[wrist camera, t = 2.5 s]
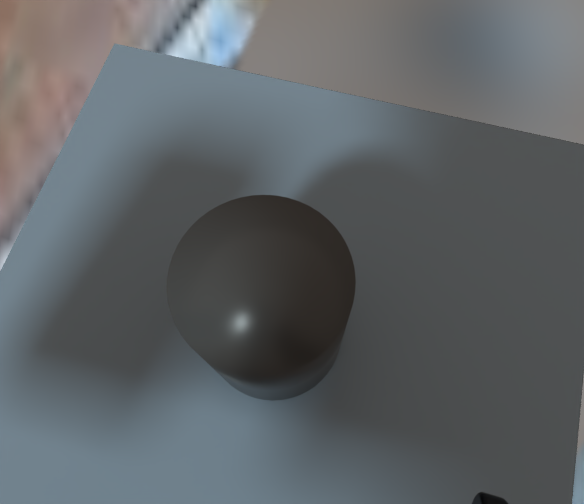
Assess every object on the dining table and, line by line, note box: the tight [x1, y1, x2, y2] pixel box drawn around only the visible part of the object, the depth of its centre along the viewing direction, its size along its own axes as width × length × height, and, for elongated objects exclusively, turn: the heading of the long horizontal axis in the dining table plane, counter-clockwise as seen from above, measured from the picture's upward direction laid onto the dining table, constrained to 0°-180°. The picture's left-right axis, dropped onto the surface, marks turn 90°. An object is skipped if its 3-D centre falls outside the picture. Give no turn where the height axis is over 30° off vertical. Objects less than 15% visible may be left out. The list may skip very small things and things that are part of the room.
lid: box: [0, 44, 584, 504], centre depth 13 cm, size 16×16×6 cm
